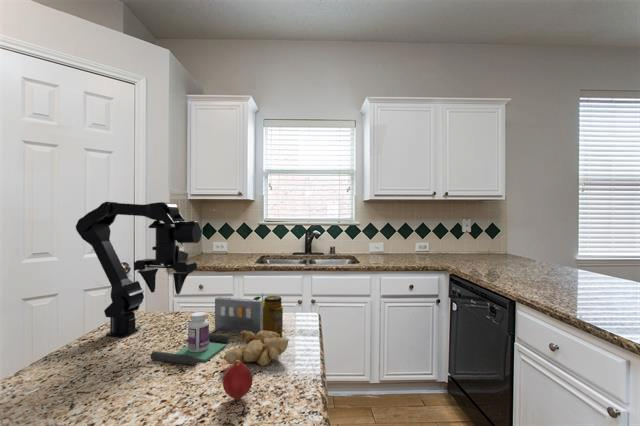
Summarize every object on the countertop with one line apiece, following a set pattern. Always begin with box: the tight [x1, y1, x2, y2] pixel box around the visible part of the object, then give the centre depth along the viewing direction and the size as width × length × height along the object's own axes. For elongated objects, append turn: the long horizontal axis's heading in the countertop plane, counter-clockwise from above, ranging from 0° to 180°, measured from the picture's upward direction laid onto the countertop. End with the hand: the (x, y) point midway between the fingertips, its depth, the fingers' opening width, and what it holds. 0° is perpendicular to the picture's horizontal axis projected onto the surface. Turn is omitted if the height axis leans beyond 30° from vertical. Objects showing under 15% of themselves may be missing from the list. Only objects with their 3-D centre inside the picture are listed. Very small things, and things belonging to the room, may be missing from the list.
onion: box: [222, 360, 253, 401], centre depth 65 cm, size 6×6×8 cm
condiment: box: [263, 295, 290, 341], centre depth 99 cm, size 7×8×12 cm
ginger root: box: [222, 330, 289, 367], centre depth 84 cm, size 16×16×8 cm
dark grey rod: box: [209, 332, 230, 343], centre depth 96 cm, size 13×2×2 cm, turn 76°
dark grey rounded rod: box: [149, 350, 199, 366], centre depth 82 cm, size 13×2×2 cm, turn 76°
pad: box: [174, 342, 227, 363], centre depth 88 cm, size 10×10×1 cm
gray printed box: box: [214, 296, 264, 335], centre depth 104 cm, size 16×3×10 cm, turn 76°
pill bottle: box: [187, 311, 210, 353], centre depth 88 cm, size 5×5×10 cm
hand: (165, 293), depth 100 cm, fingers open, 9 cm apart
